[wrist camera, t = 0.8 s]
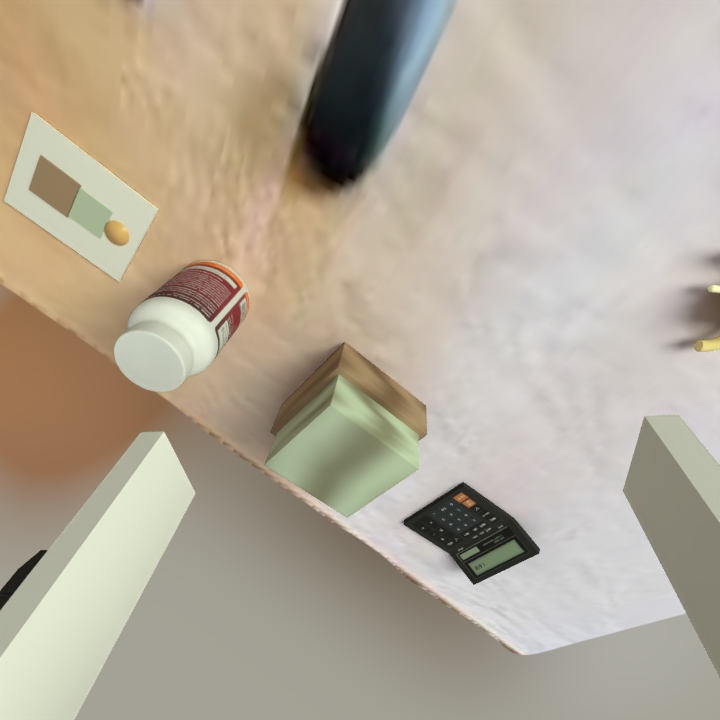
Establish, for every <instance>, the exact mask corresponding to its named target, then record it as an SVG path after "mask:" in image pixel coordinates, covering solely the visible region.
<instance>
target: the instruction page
mask: <svg viewBox="0 0 720 720" xmlns="http://www.w3.org/2000/svg"><path fill="white" fill-rule="evenodd" d="M4 201H5V202H6V203H8V204H9V205H11V206H12V207H13V208H15V209H16V210H18V211H19V212H21V213H22V214H23V215H25V216H26V217H28V218H29V219H30V220H32V221H33V222H35V223H36V224H38V225H39V226H40V227H42V228H43V229H45V230H46V231H48V232H49V233H50V234H52V235H53V236H55V237H56V238H57V239H59V240H60V241H62V242H63V243H65V244H66V245H67V246H69V247H70V248H72V249H73V250H74V251H76V252H77V253H79V254H80V255H82V256H83V257H84V258H86V259H87V260H89V261H90V262H91V263H93V264H94V265H96V266H97V267H99V268H100V269H101V270H103V271H104V272H106V273H107V274H109V275H110V276H111V277H113V278H114V279H116V280H117V281H118V282H120V281H121V279H122V277H123V275H124V273H125V272H126V270H127V268H128V266H129V264H130V262H131V261H132V259H133V257H134V255H135V253H136V251H137V250H138V248H139V246H140V244H141V242H142V240H143V238H144V237H145V235H146V233H147V231H148V229H149V227H150V226H151V224H152V222H153V220H154V218H155V216H156V215H157V213H158V211H159V209H158V208H156V207H155V206H154V205H153V204H151V203H150V202H149V201H147V200H146V199H145V198H144V197H142V196H141V195H140V194H138V193H137V192H136V191H135V190H133V189H132V188H131V187H129V186H128V185H127V184H126V183H124V182H123V181H122V180H121V179H119V178H118V177H117V176H115V175H114V174H113V173H112V172H110V171H109V170H108V169H106V168H105V167H104V166H103V165H101V164H100V163H99V162H97V161H96V160H95V159H94V158H92V157H91V156H90V155H88V154H87V153H86V152H85V151H83V150H82V149H81V148H79V147H78V146H77V145H76V144H74V143H73V142H72V141H70V140H69V139H68V138H67V137H65V136H64V135H63V134H61V133H60V132H59V131H58V130H56V129H55V128H54V127H52V126H51V125H50V124H49V123H47V122H46V121H45V120H44V119H42V118H41V117H40V116H38V115H37V114H36V113H35V112H32V113H31V117H30V120H29V123H28V126H27V129H26V132H25V136H24V139H23V142H22V145H21V148H20V151H19V155H18V158H17V161H16V164H15V167H14V171H13V174H12V177H11V180H10V183H9V186H8V190H7V193H6V196H5V199H4Z"/></svg>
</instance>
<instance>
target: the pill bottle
mask: <svg viewBox="0 0 720 720" xmlns="http://www.w3.org/2000/svg"><path fill="white" fill-rule="evenodd" d="M249 308H250V295H249V291H248V288H247V286H246V284H245V282H244V281H243V279H242V278H241V277H240V276H239V275H238V274H237V272H235V271H234V270H233V269H232V268H230V267H229V266H227V265H225V264H223V263H220V262H217V261H213V260H202V261H197V262H194V263H192V264H191V265H189V266H187V267H186V268H185V269H183V270H182V271H181V272H180V273H178V274H177V275H176V276H174V277H173V278H172V279H171V280H169V281H168V282H167V283H166V284H164V285H163V286H162V287H161V288H159V289H158V290H157V291H156V292H154V293H153V294H152V295H151V296H149V297H148V298H147V299H145V300H144V301H143V302H142V303H141V304H139V305H138V306H137V307H136V308H135V309H134V310H133V312H132V313H131V315H130V317H129V320H128V325H127V331H126V332H124V333H123V334H122V335H121V336H120V337H119V338H118V339H117V341H116V343H115V346H114V357H115V360H116V363H117V365H118V367H119V369H120V370H121V371H122V373H123V374H124V375H125V376H126V377H127V378H128V379H129V380H131V381H132V382H133V383H135V384H136V385H138V386H140V387H142V388H145V389H147V390H150V391H155V392H167V391H171V390H174V389H176V388H177V387H179V386H180V385H181V384H182V383H183V382H184V380H185V379H186V378H187V377H189V376H193V375H196V374H199V373H201V372H202V371H204V370H205V369H206V368H207V367H208V366H209V365H210V364H211V363H212V362H213V360H214V359H215V358H216V356H217V355H218V354H219V352H220V351H221V350H222V348H223V347H224V346H225V344H226V343H227V342H228V340H229V339H230V337H231V336H232V335H233V333H234V332H235V331H236V329H237V328H238V327H239V325H240V324H241V323H242V321H243V320H244V319H245V317H246V315H247V313H248V311H249Z"/></svg>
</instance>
